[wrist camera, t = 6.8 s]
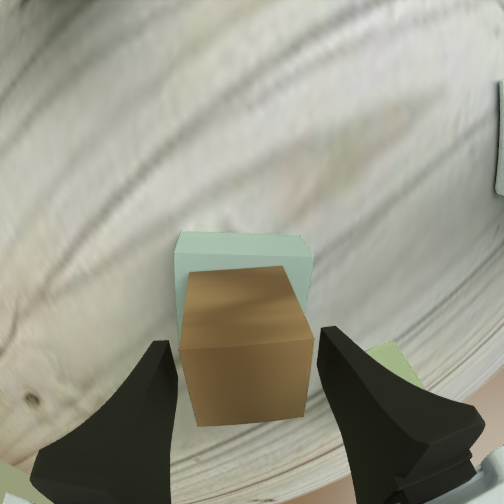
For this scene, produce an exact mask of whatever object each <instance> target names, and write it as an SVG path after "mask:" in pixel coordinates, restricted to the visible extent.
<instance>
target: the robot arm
mask: <svg viewBox="0 0 504 504" xmlns="http://www.w3.org/2000/svg"><path fill="white" fill-rule="evenodd" d="M499 86H500V139H499V155H498V167H497V177H496V185H495V190H496V193H497V194H499V195H503V196H504V79H501V80H500V83H499ZM317 368H318V372H319V376H320V380H321V384H322V387H323V389H324V392H325V394H326V397H327V399H328V402H329V404H330V407H331V409H332V412H333V414H334V417H335V419H336V421H337V424H338V426H339V429H340V432H341V435H342V438H343V442H344V446H345V449H346V453H347V457H348V462H349V466H350V470H351V475H352V479H353V485H354V490H355V496H356V502H357V504H504V445H502V446H500V447H499V448H497V449H496V450H494V451H493V452H491V453H490V454H489V455H488V456H487V457H486V458H485V459H484V460H483V461H482V462H481V464H480V465H478V466H476V467H473V465H472V463H471V461H470V459H471V458H472V453H471V452H470V450H469V449H470V448H471V446H472V445H473V444H474V443H475V441H476V440H477V439H478V437H479V436H480V435H481V434H482V432H483V430H484V427H485V422H484V420H483V419H482V417H481V416H480V414H479V413H478V411H477V410H476V408H475V407H474V406H471V405H468V404H464V403H460V402H456V401H452V400H449V399H446V398H444V397H441V396H438V395H435V394H433V393H431V392H428V391H426V390H424V389H422V388H420V387H418V386H415V385H414V384H412V383H410V382H408V381H406V380H404V379H403V378H401V377H399V376H398V375H396V374H394V373H393V372H391V371H390V370H388V369H387V368H386V367H384V366H383V365H381V364H380V363H379V362H377V361H376V360H375V359H373V358H372V357H371V356H370V355H368V354H367V353H366V352H365V351H363V350H362V349H361V348H360V347H359V346H358V345H356V344H355V343H354V342H353V341H352V340H351V339H350V338H349V337H348V336H346V335H345V334H344V333H343V332H342V331H341V330H340V329H339V328H337V327H336V326H331V327H323V328H321V332H320V341H319V350H318V358H317ZM177 396H178V375H177V371H176V367H175V363H174V360H173V356H172V352H171V348H170V344H169V340H164V341H153V342H152V343H151V345H150V346H149V348H148V349H147V351H146V352H145V354H144V355H143V357H142V358H141V360H140V361H139V362H138V364H137V365H136V367H135V368H134V369H133V371H132V372H131V373H130V375H129V376H128V377H127V379H126V380H125V381H124V382H123V384H122V385H121V386H120V387H119V389H118V390H117V391H116V392H115V393H114V394H113V396H112V397H111V398H110V399H109V400H108V401H107V402H106V403H105V404H104V405H103V406H102V407H101V408H100V409H99V410H98V411H97V412H96V413H94V414H93V415H92V416H91V417H90V418H89V419H87V420H86V421H85V422H84V423H83V424H81V425H80V426H79V427H77V428H76V429H74V430H73V431H72V432H70V433H69V434H67V435H66V436H64V437H62V438H61V439H59V440H57V441H56V442H54V443H52V444H50V445H48V446H46V447H44V448H42V449H40V450H39V452H38V454H37V457H36V460H35V463H34V466H33V469H32V472H31V476H30V482H31V483H32V485H33V486H34V487H35V488H36V489H37V490H38V491H39V492H40V493H42V494H43V495H44V496H45V497H46V498H48V499H49V500H50V501H52V502H53V503H54V504H171V492H170V448H171V439H172V432H173V425H174V419H175V412H176V405H177ZM3 504H34V503H32V502H30V501H28V500H26V499H23V498H21V497H18V496H15V495H13V494H11V493H6V494H5V498H4V501H3Z"/></svg>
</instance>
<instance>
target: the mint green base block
mask: <svg viewBox="0 0 504 504" xmlns="http://www.w3.org/2000/svg"><path fill="white" fill-rule="evenodd" d="M313 263H314V255H313V254H312V252H311V251H310V249H309V248H308V246H307V245H306V243H305V242H304V240H303V239H302V237H301V236H300V235H280V234H254V233H224V232H190V231H181V233H180V236H179V239H178V242H177V245H176V248H175V251H174V272H175V294H176V312H177V327H178V340H179V343H180V335H181V327H182V320H183V312H184V305H185V298H186V291H187V284H188V278H189V272H198V271H213V270H228V269H242V268H256V267H270V266H283V267H284V270H285V272H286V274H287V276H288V279H289V281H290V283H291V285H292V288H293V290H294V292H295V295H296V297H297V299H298V301H299V304H300V306H301V308H302V311H303V313H304V314H305V308H306V303H307V297H308V292H309V286H310V281H311V275H312V269H313ZM180 360H181V358H180Z"/></svg>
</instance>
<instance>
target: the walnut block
mask: <svg viewBox="0 0 504 504" xmlns="http://www.w3.org/2000/svg"><path fill="white" fill-rule="evenodd" d="M313 345H314V336H313V334H312V332H311V329H310V327H309V325H308V322H307V320H306V318H305V315H304V313H303V311H302V308H301V306H300V304H299V301H298V299H297V297H296V295H295V292H294V290H293V288H292V285H291V283H290V281H289V279H288V276H287V274H286V272H285V270H284V267H283V266H270V267H256V268H242V269H228V270H213V271H198V272H189V278H188V284H187V291H186V298H185V305H184V312H183V320H182V327H181V335H180V343H179V353H180V358H181V362H182V366H183V371H184V375H185V379H186V383H187V387H188V391H189V395H190V399H191V403H192V407H193V411H194V415H195V418H196V422H197V426H198V427H199V426H222V425H236V424H248V423H259V422H268V421H276V420H284V419H291V418H298V417H304V412H305V406H306V399H307V392H308V385H309V377H310V370H311V362H312V354H313Z"/></svg>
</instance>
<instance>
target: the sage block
mask: <svg viewBox="0 0 504 504" xmlns="http://www.w3.org/2000/svg"><path fill="white" fill-rule="evenodd" d="M365 352H366V353H367V354H368V355H370V356H371V357H372V358H373V359H375V360H376V361H377V362H379V363H380V364H381V365H383V366H384V367H386V368H387V369H388V370H390V371H391V372H393V373H394V374H396V375H398V376H399V377H401V378H403V379H404V380H406V381H408V382H410V383H412V384H414V385H415V386H418V387H420V388H422V389H424V390H425V387H424V386H423V384H422V383H421V381H420V380H419V378H418V377H417V375H416V374H415V372H414V371H413V369H412V368H411V366H410V365H409V363H408V362H407V360H406V359H405V357H404V356H403V354H402V353H401V351H400V350H399V348H398V347H397V345H396V344H395V342H394V341H393V340H392V341H389V342H387V343H384V344H382V345H380V346H377V347H375V348H372V349H369V350H367V351H365Z"/></svg>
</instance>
